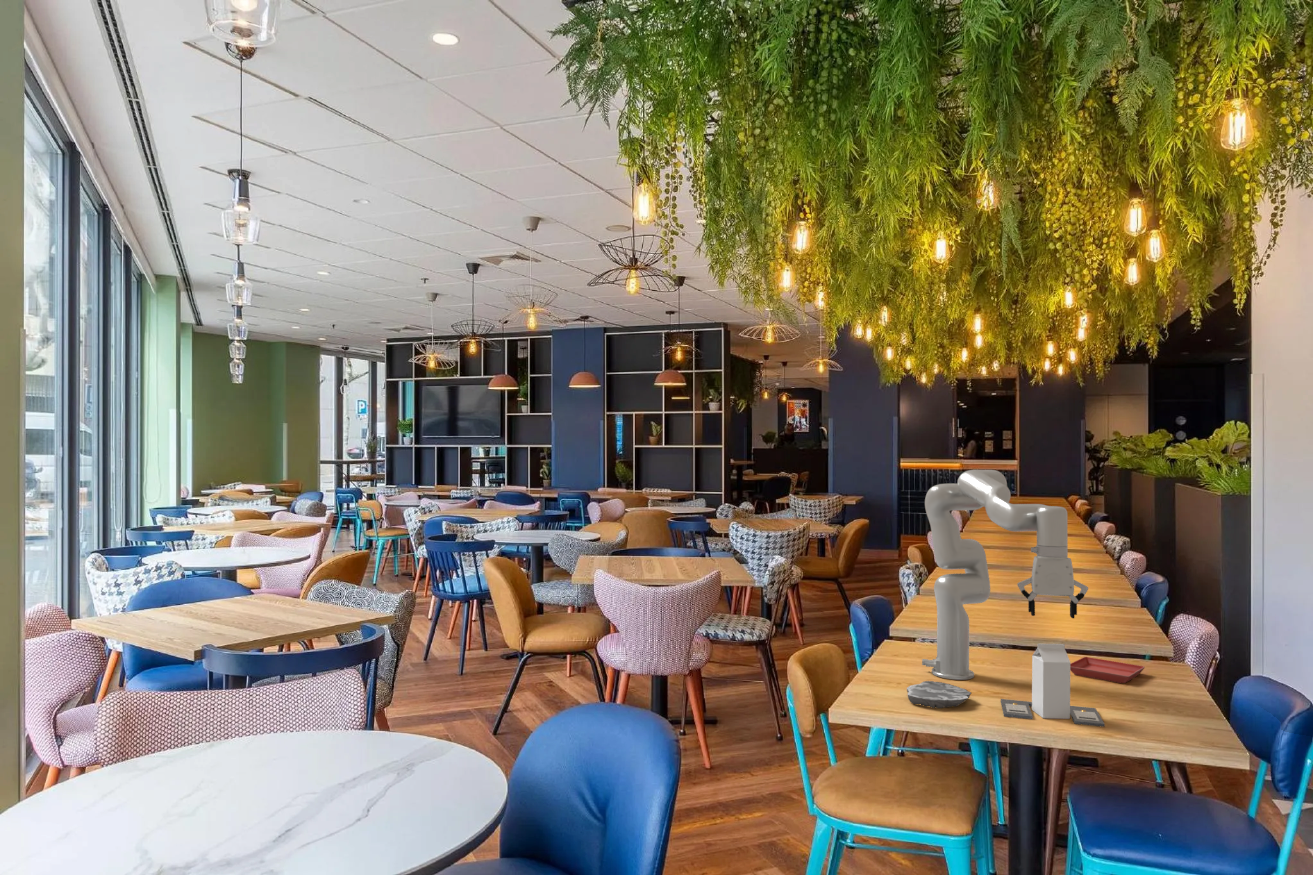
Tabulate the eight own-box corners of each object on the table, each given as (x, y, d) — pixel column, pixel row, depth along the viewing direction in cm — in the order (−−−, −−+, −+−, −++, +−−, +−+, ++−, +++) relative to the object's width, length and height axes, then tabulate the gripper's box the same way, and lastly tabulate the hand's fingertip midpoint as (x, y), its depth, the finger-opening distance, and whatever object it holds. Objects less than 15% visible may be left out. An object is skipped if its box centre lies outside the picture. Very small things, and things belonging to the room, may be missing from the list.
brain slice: (962, 715, 227) (962, 704, 227) (899, 705, 236) (899, 694, 236) (977, 697, 244) (977, 687, 244) (917, 688, 253) (917, 678, 253)
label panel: (1003, 716, 226) (1004, 712, 226) (1000, 701, 240) (1000, 698, 240) (1104, 726, 219) (1104, 723, 219) (1095, 710, 232) (1095, 707, 232)
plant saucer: (1084, 665, 282) (1084, 655, 282) (1145, 676, 270) (1145, 665, 270) (1065, 675, 269) (1065, 665, 269) (1128, 687, 257) (1128, 676, 257)
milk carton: (1070, 719, 225) (1070, 647, 225) (1043, 718, 225) (1043, 646, 225) (1058, 710, 232) (1058, 641, 232) (1031, 710, 232) (1032, 640, 232)
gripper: (1018, 552, 228) (1018, 616, 227) (1090, 555, 222) (1090, 621, 222) (1016, 549, 235) (1016, 611, 234) (1085, 552, 229) (1085, 616, 229)
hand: (1052, 616), depth 228 cm, fingers open, 9 cm apart
